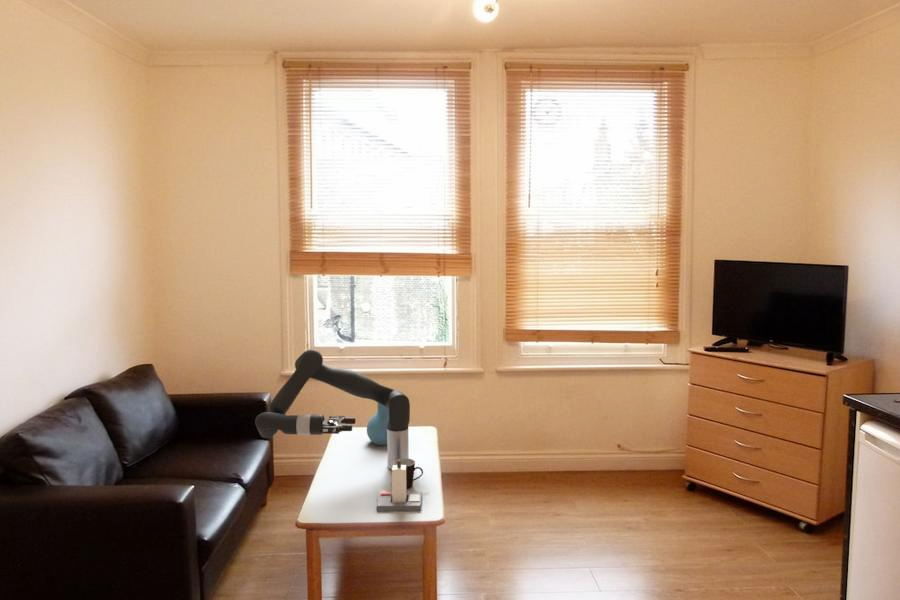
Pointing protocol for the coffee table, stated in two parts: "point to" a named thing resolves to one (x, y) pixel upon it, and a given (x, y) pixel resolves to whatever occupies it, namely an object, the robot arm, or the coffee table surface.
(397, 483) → the plug
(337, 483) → the coffee table surface
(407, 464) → the coffee mug
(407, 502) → the socket
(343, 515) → the coffee table surface
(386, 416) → the vase
